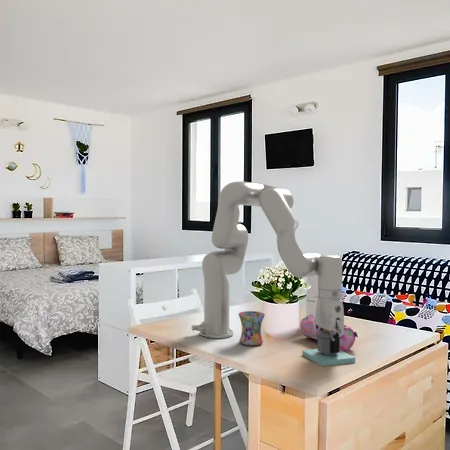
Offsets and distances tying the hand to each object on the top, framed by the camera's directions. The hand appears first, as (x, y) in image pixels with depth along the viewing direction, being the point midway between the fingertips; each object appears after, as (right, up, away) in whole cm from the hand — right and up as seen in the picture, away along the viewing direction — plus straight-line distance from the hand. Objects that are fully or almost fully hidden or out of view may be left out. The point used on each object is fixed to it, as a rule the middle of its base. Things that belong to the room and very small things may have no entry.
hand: (328, 348), depth 154 cm
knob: (0, -1, 0) cm, 1 cm away
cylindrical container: (+4, -2, +43) cm, 43 cm away
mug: (-24, -2, +18) cm, 30 cm away
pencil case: (+3, -3, +17) cm, 18 cm away
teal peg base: (0, -3, 0) cm, 3 cm away
